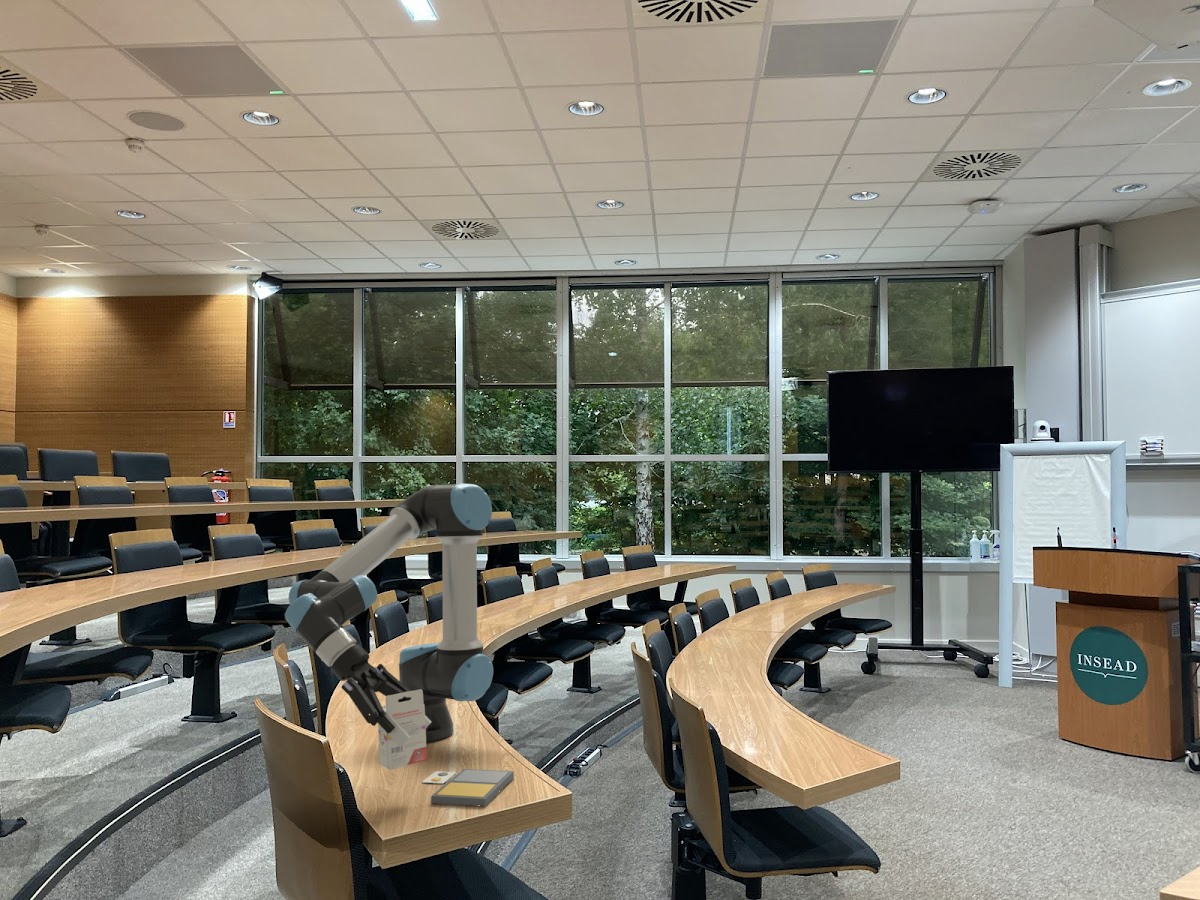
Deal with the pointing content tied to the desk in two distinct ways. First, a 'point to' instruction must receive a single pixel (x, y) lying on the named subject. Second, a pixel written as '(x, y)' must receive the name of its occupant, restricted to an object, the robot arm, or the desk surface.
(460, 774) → the pad board
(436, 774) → the pattern card
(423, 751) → the ink cartridge box
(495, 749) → the desk surface
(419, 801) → the desk surface
